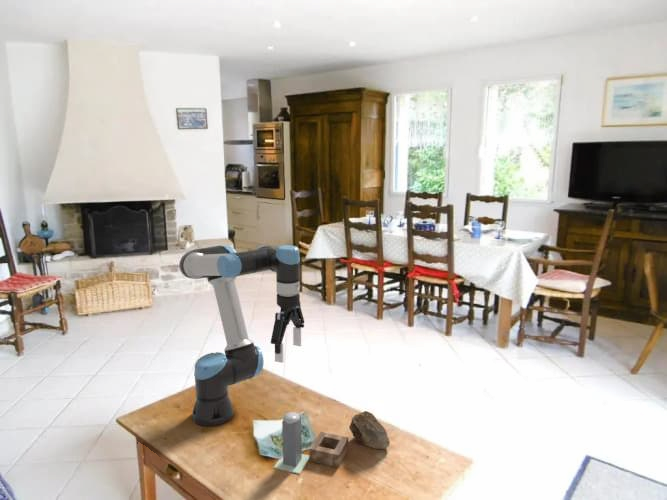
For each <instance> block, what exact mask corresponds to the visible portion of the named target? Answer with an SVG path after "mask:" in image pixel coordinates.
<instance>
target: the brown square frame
mask: <svg viewBox="0 0 667 500" xmlns="http://www.w3.org/2000/svg"><path fill="white" fill-rule="evenodd" d="M348 451H349V437H347V436H344V435H343V436H342V435H338V434H333V433H329V432H324V431H320V432H319V433H318V435H317V437H316V438H315V440H314V441H313V442H312V444H311V446H310V447H309V456H310V459H309V462H311V463H316V464H320V465H324V466H325V465H326V466H329V467H335V468H340V466H341V464H342V463H343V461H344V459H345V457H346V455H347V453H348Z"/></svg>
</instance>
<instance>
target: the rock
mask: <svg viewBox="0 0 667 500" xmlns="http://www.w3.org/2000/svg"><path fill="white" fill-rule="evenodd" d="M349 430H350V432H351V434H352V436H353V438H354V439H355V441H356V442H357V444H359V445H363V446H364V447H370V448H373V449H375V450H385V449H387V448H388V447H389V446H390V445H391V444H390V443H391V442H390V438H389V437H388V434H387V432H388V431H387V430H386V428H385V426H383V425H382V423H381V422H380V421H379V420H378V419H377V418H376V416H375V415H374V414H373V413H372V412H370V411H366V410H365V411H361V412H360V413H357V414H354V416H353V417H352V418H351V422H350V424H349Z"/></svg>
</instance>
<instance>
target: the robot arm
mask: <svg viewBox="0 0 667 500" xmlns="http://www.w3.org/2000/svg"><path fill="white" fill-rule="evenodd" d="M300 263H301V257H300V249H299V247H298V246H296V245H290V244H288V245H286V244H285V245H279V246H277V247H276V248H275V247H273V246H271V245H259V246H258V247H257V248H255V249H251V250H250V249H249V250H246V251H238V252H237V250H236V249H234V247H232V246H231V245H228V244H226V245H225V244H224V245H216V246H209V247H202V248H196V249H192V250H190V251H187V252H185V254H183V255H182V256H181V258H180V261H179V263H178V264H179V270H180V272H181V275H183V276H184V277H185V278H188V279H193V280H198V279H206V278H207V282H208V283H209V284H210V285H212V286H213V287H212V288H213V290H214V295H215V299H216V304H217V308H218V311H219V314H220V315H219V316H220V320H221V324H222V330H223V332H224V337H225V342H226V346H225V347H224V353H223V352H219V351H217V352H210V353H207V354H204V355H202V356H201V357H199V358H198V359H197V360H196V362H195V364H194V383H195V396H196V399H195V402H194V405H193V409H192V420H193V422H194V423H195V424H197V425H199V426H203V427H213V426H215V427H216V426H219V425H221V424H225V423H226V422H228V421H230V420H231V419H232V417H233V416H234V412H235V411H234V404H233V402H232V401H231V398H230V395H229V388H228V387H229V386H232V385H236V384H239V383H241V382H244V381H247V380H251V379H253V378H255V377H257V376H259V375H260V374H261V373H262V371H263V368H264V362H265V361H264V356H263V354H264V353H263V352H262V350H261V348H260V347H259V346H257V345H255V344H254V341H253V340H251V339H249V334H248V331H247V327H246V323H245V318H244V315H243V313H244V312H243V309H242V306H241V301H240V297H239V293H238V290H237V289H238V288H237V285H236V279H237V278H238V277H240V276H244V275H250V274H255V273H256V274H257V273H260V272H266V271H271V272H274V273H275V274H276V277H275V278H276V281H275V282H276V293H277V294H276V305H277V306H278V307H280V311H279V312H276V313H275V316H274V324H273V329H272V333H271V339H270V344H272V345H274V362H277V363H282V364H283V363H284V343H283V340H284V336H285V334H286V329H287V328H288V327H287V326H288V325H289V324H290V322H292V324H293V326H294V327H293V328H292V329H293V330H292V333H293V334H292V335H293V337H292V340H293V341H292V344H293V346H296V347H301V346H302V328H304V327H305V317H304V315H303V311H302V307H301V301H300V299H301V298H300V297H301V296H300V288H301V283H300V275H301V273H300V271H301V270H300V268H301V267H300V266H301V265H300Z"/></svg>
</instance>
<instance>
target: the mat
mask: <svg viewBox="0 0 667 500" xmlns="http://www.w3.org/2000/svg"><path fill="white" fill-rule="evenodd" d="M280 458H281V457H280ZM280 458H279V459H278V460H277V462H275V464H274V466H273V469H276V470H279V471H280V470H281V471H284V472H289V473H293V474H297V475H301V473H302V471H303V470H304V468H305V467H306V465H307V464H308V461H310V454H309V455H308V454H303V453H302V459H301V460H300V462H299V463H298V465H297V466H296V467H294V466H289V465H285V464H283V458H281V459H280Z"/></svg>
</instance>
